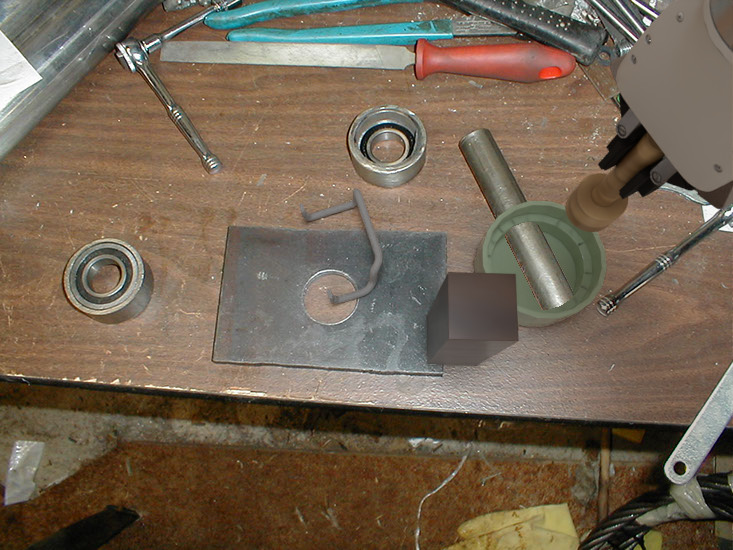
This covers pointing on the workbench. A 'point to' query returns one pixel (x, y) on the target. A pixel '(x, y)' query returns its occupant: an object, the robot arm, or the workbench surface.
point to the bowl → (571, 248)
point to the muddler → (609, 188)
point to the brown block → (472, 318)
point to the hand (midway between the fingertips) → (626, 173)
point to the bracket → (372, 236)
